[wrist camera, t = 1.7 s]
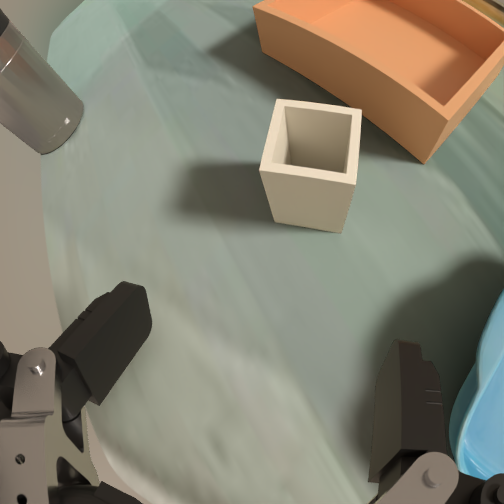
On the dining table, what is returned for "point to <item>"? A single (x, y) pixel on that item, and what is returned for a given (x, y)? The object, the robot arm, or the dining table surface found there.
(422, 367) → the robot arm
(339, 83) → the large crate
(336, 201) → the small crate
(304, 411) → the dining table surface
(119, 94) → the dining table surface
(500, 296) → the casserole dish
